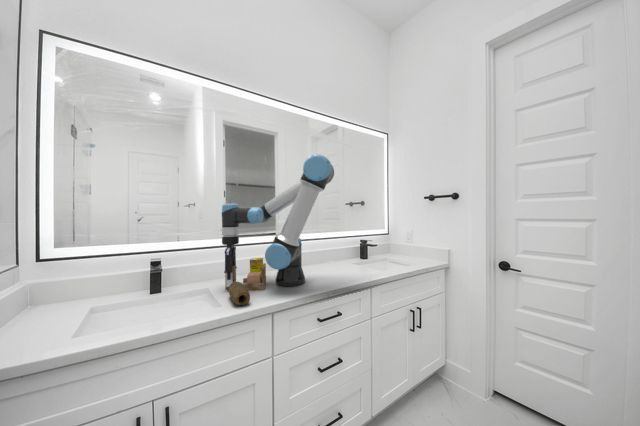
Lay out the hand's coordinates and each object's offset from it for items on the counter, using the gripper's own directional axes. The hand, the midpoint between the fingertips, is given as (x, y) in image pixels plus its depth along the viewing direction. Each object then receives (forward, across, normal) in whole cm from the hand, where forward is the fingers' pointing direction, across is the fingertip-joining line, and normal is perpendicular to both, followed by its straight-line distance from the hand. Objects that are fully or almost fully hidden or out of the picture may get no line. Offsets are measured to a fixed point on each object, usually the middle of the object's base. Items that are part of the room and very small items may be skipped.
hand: (230, 284), depth 114 cm
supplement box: (+2, -16, +10) cm, 19 cm away
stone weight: (+2, +18, +7) cm, 20 cm away
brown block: (+2, 0, +6) cm, 6 cm away
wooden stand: (+2, 0, +10) cm, 11 cm away
